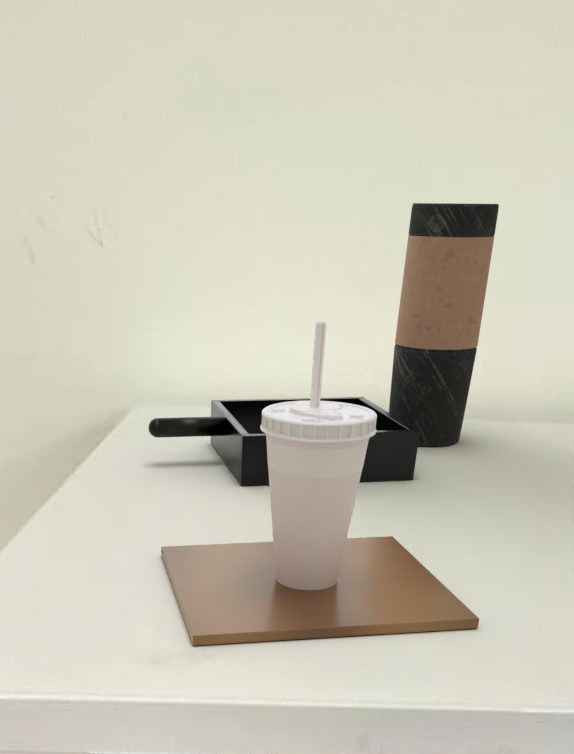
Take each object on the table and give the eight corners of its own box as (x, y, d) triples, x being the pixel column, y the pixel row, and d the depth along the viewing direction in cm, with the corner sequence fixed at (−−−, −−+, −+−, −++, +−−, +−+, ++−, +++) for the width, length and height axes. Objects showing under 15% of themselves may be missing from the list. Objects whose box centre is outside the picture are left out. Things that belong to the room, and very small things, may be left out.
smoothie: (327, 555, 56) (349, 315, 49) (379, 590, 51) (413, 329, 43) (236, 567, 54) (244, 319, 47) (281, 605, 49) (298, 333, 41)
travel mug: (465, 449, 83) (506, 203, 72) (384, 445, 84) (413, 203, 73) (458, 431, 89) (494, 203, 79) (383, 428, 90) (409, 203, 80)
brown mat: (391, 544, 60) (392, 536, 59) (477, 628, 48) (479, 618, 48) (161, 555, 57) (161, 546, 57) (192, 646, 46) (192, 635, 45)
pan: (358, 439, 86) (363, 396, 84) (413, 479, 74) (420, 431, 72) (140, 445, 83) (139, 401, 81) (159, 488, 71) (158, 438, 69)
